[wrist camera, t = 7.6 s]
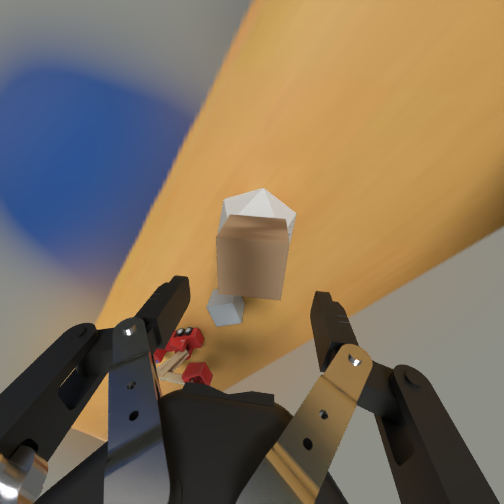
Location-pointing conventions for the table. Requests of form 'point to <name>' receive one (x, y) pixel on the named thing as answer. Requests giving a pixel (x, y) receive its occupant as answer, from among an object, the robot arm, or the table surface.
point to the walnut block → (252, 256)
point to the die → (257, 208)
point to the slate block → (225, 308)
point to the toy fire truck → (183, 358)
